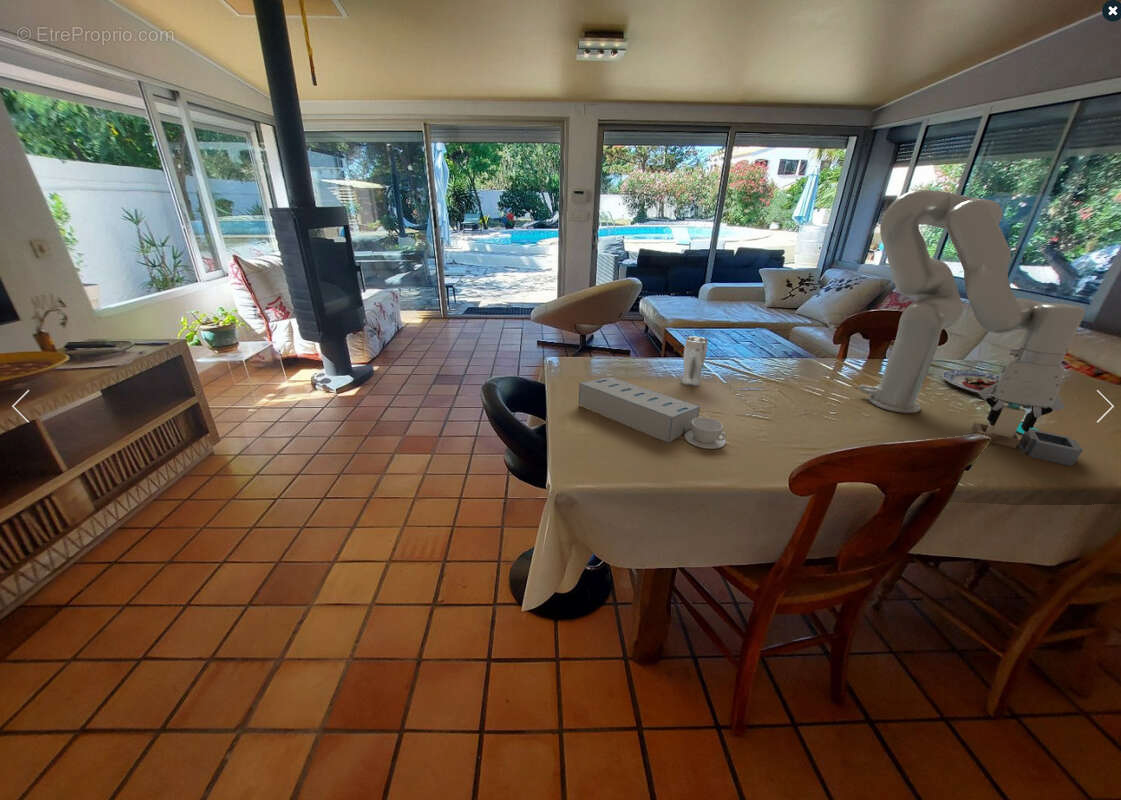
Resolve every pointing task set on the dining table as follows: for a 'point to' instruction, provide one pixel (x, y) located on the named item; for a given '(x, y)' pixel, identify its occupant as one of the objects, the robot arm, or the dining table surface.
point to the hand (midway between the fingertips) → (1008, 425)
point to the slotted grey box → (638, 407)
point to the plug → (1007, 420)
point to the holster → (994, 435)
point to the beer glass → (694, 360)
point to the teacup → (706, 433)
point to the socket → (1050, 447)
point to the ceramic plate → (971, 380)
